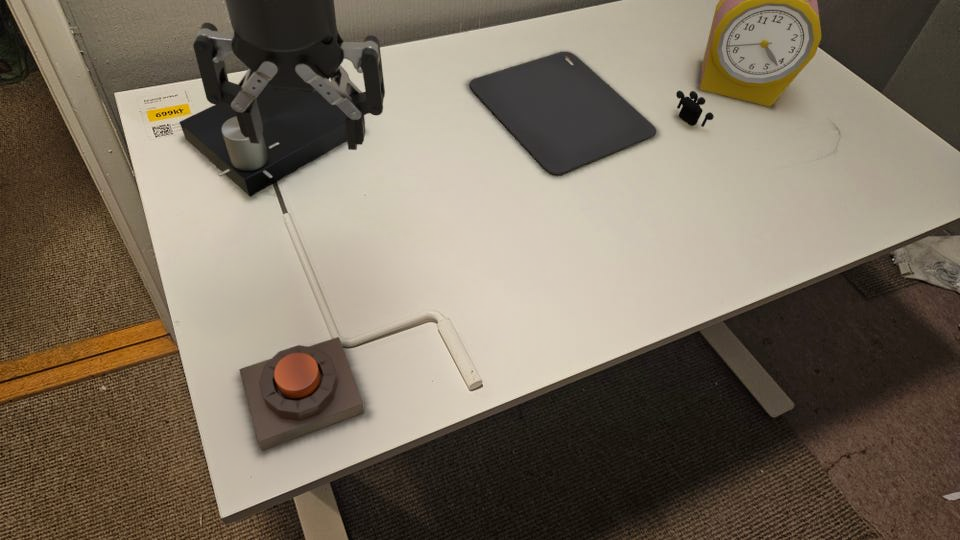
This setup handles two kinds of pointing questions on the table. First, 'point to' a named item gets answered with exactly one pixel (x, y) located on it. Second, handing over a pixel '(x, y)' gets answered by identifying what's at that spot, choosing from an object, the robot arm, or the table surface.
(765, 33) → the alarm clock
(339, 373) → the button block
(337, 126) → the stove panel
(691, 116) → the wireless earbuds
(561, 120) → the mouse pad
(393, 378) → the table surface
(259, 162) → the dial
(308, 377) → the button
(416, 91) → the table surface
